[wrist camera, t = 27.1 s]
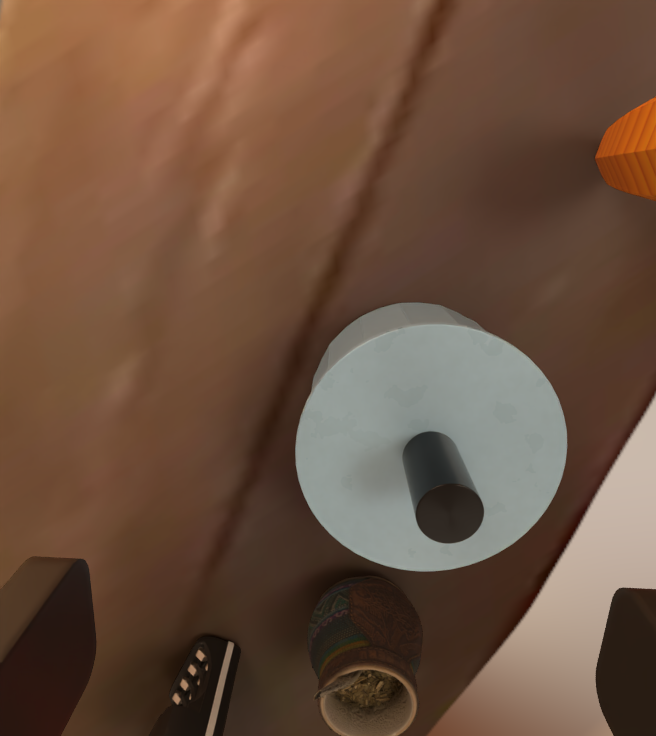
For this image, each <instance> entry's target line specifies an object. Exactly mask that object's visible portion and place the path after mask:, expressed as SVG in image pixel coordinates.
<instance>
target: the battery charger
mask: <svg viewBox="0 0 656 736" xmlns="http://www.w3.org/2000/svg"><path fill="white" fill-rule="evenodd" d="M240 653H241V649H240V647H238V646H236V645H234V643H233V642H230V641H228V642H227V641H224V640H222V639H219V638H215V637H209V636H207V637H202V638H200V639H198V640H197V642H196V643H195V645H194V646H193V648H192V650H191V651H190V653H189V655H188V657H187V659H186V661H185V663H184V665H183V666H182V668H181V670H180V672H179V674H178V676H177V677H176V679H175V681H174V683H173V685H172V688H171V690H170V693H169V697H170V700H171V703H172V706H170V707H168V708H166V710H165V711H164V713H163V714H161V715H160V717H159V718H158V720H157V721H156V723H155V725H154V727H153V729H152V731H151V732H150V734H149V736H223V732H224V727H225V723H226V718H227V713H228V708H229V703H230V699H231V694H232V689H233V684H234V680H235V675H236V671H237V666H238V662H239V658H240Z"/></svg>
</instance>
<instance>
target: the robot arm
mask: <svg viewBox="0 0 656 736" xmlns="http://www.w3.org/2000/svg"><path fill="white" fill-rule="evenodd" d="M95 654H96V632H95V622H94V612H93V603H92V593H91V583H90V574H89V568H88V565H87V563H86V561H85V560H83V559H74V558H54V557H31V558H29V559H27V560H26V561H25V562H24V563H23V564H22V565H21V566H20V568H19V569H18V570H17V571H16V572H15V573H14V575H13V576H12V577H11V578H10V579H9V580H8V582H7V583H6V584H5V585H4V586H3V587H2V589H1V590H0V736H61V734H62V732H63V730H64V728H65V727H66V725H67V723H68V721H69V719H70V717H71V715H72V713H73V711H74V709H75V707H76V705H77V703H78V701H79V700H80V698H81V696H82V694H83V692H84V690H85V688H86V686H87V684H88V681H89V678H90V676H91V672H92V669H93V665H94V660H95ZM596 688H597V694H598V699H599V703H600V707H601V709H602V712H603V715H604V716H605V719H606V721H607V723H608V725H609V727H610V729H611V731H612V733H613V735H614V736H656V589H639V588H638V589H637V588H619V589H618V590H617V591H616V592H615V594H614V596H613V599H612V602H611V607H610V611H609V615H608V619H607V624H606V628H605V632H604V637H603V641H602V645H601V650H600V654H599V658H598V662H597V667H596Z"/></svg>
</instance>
